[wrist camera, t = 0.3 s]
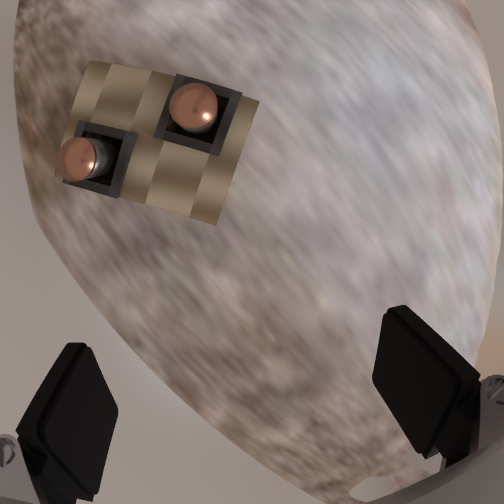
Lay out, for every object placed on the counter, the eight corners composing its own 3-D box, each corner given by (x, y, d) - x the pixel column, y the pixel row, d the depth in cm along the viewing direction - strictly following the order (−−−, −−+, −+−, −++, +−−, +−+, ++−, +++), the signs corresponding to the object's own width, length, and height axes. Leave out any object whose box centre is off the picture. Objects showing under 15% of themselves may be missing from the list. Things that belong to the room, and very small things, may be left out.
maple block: (104, 70, 29) (85, 57, 23) (254, 108, 33) (261, 99, 27) (71, 174, 32) (48, 178, 27) (216, 216, 37) (216, 228, 31)
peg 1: (90, 136, 27) (63, 133, 21) (122, 144, 28) (99, 141, 22) (81, 171, 28) (53, 176, 22) (111, 179, 29) (88, 185, 23)
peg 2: (186, 93, 27) (179, 77, 21) (222, 104, 28) (224, 90, 22) (173, 128, 28) (162, 121, 22) (209, 139, 29) (208, 134, 23)
